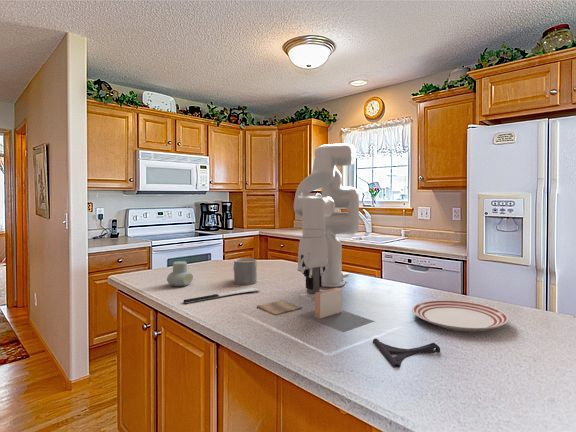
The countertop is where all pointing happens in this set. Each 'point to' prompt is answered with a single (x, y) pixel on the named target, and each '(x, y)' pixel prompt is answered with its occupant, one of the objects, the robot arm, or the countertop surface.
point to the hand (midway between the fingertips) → (313, 287)
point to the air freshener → (180, 274)
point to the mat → (343, 321)
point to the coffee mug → (245, 271)
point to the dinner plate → (460, 315)
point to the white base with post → (316, 286)
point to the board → (279, 307)
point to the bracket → (402, 351)
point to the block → (328, 303)
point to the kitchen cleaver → (218, 295)
